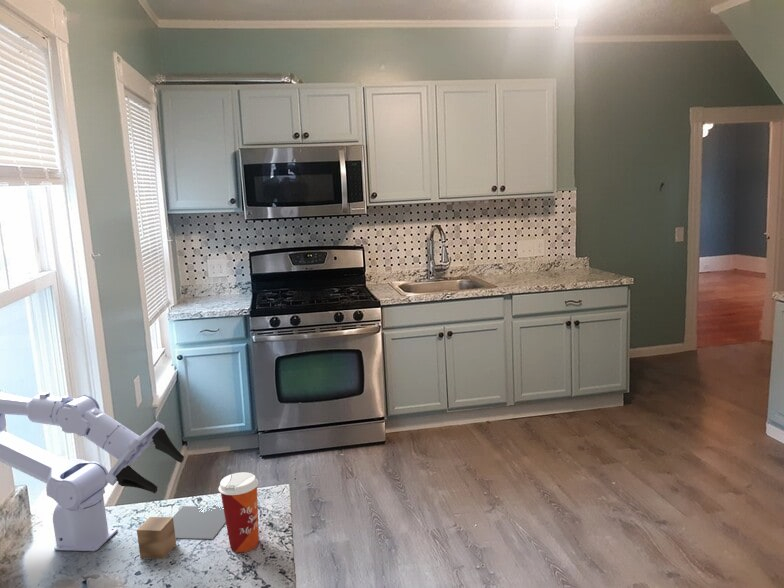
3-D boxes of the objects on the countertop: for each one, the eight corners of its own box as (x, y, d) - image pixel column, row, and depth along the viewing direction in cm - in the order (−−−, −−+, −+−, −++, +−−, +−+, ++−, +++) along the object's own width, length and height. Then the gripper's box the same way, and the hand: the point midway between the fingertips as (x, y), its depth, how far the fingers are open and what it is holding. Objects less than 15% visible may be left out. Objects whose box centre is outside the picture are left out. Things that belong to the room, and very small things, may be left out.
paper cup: (254, 556, 119) (247, 489, 117) (218, 554, 121) (210, 487, 118) (270, 535, 127) (264, 471, 124) (235, 532, 128) (229, 469, 126)
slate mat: (153, 538, 128) (153, 537, 128) (183, 506, 141) (183, 506, 141) (212, 539, 126) (212, 538, 126) (237, 507, 139) (237, 506, 139)
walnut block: (140, 558, 121) (136, 530, 120) (153, 544, 126) (150, 516, 125) (164, 558, 120) (160, 530, 119) (176, 544, 125) (172, 517, 124)
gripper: (84, 457, 115) (143, 496, 114) (139, 402, 125) (194, 438, 124) (87, 472, 120) (143, 510, 119) (140, 418, 130) (192, 453, 129)
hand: (169, 474), depth 122 cm, fingers open, 7 cm apart
